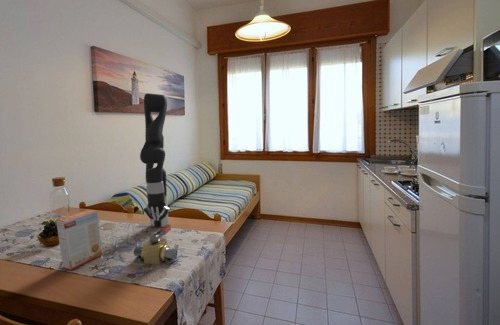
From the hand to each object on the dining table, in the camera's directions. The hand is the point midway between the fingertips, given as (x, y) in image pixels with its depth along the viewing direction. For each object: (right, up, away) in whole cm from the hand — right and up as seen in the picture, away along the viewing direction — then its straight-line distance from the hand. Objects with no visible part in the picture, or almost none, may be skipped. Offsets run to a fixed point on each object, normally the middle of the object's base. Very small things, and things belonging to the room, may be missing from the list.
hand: (158, 227), depth 123 cm
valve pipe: (+2, -12, -8) cm, 15 cm away
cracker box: (-29, -13, -9) cm, 33 cm away
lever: (+3, -3, -5) cm, 6 cm away
